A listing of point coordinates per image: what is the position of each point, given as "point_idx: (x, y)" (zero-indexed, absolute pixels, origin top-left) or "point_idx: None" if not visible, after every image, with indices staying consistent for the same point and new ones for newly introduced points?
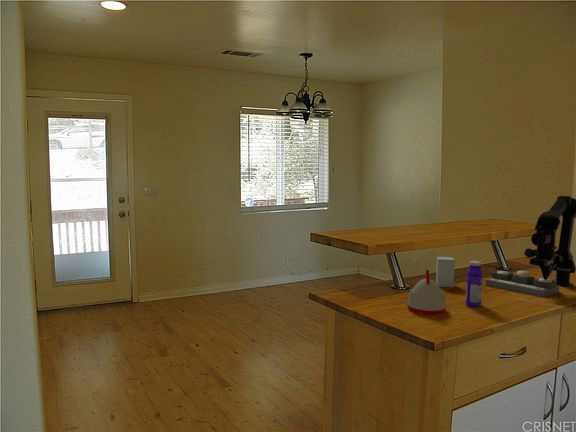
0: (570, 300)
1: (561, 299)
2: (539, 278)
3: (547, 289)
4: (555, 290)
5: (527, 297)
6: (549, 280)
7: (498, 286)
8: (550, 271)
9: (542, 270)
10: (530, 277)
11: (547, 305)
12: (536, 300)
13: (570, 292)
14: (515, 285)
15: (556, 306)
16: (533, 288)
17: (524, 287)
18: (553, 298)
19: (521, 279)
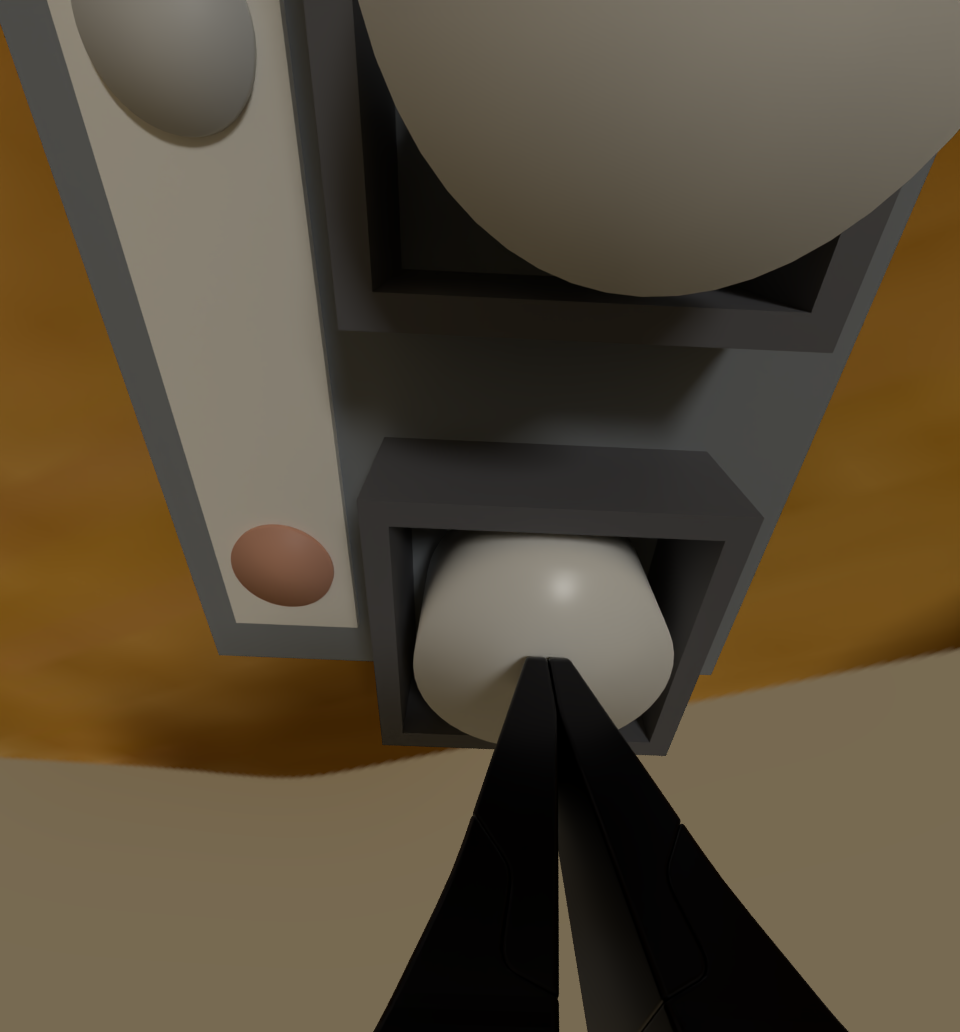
0: (383, 758)
1: (344, 714)
2: (546, 575)
3: (363, 649)
4: None
5: (21, 482)
6: None
7: None
8: (577, 953)
9: (454, 895)
10: None
11: (2, 709)
12: (32, 598)
13: (742, 685)
14: (33, 101)
15: (66, 751)
16: (207, 515)
17: (120, 364)
18: (307, 666)
19: (325, 101)
